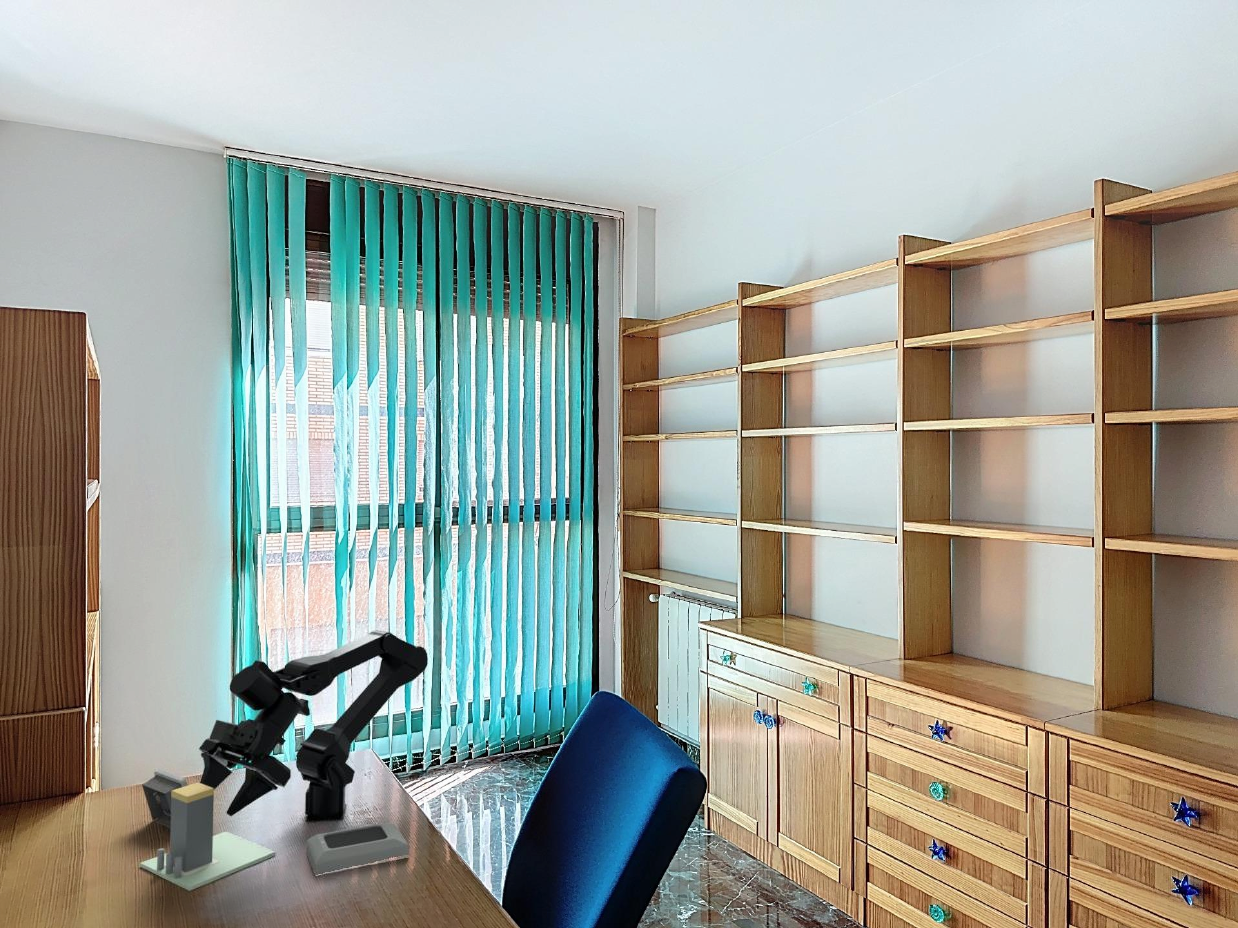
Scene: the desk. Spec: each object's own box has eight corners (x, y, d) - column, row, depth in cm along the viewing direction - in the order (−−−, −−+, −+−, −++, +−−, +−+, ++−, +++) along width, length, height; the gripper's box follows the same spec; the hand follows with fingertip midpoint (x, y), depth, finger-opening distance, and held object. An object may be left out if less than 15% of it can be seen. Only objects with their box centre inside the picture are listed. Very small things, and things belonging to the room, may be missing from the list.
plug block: (196, 854, 144) (197, 782, 144) (212, 861, 142) (213, 788, 142) (169, 864, 140) (171, 790, 140) (185, 872, 138) (187, 796, 138)
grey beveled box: (409, 838, 146) (315, 855, 139) (408, 860, 146) (315, 878, 139) (395, 817, 155) (306, 833, 147) (394, 838, 155) (306, 854, 147)
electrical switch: (199, 825, 158) (195, 775, 157) (171, 837, 153) (167, 786, 153) (170, 813, 163) (166, 765, 162) (142, 825, 158) (138, 775, 158)
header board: (225, 834, 154) (226, 814, 154) (275, 855, 146) (275, 833, 146) (140, 866, 141) (140, 844, 141) (189, 890, 134) (189, 867, 134)
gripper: (209, 691, 153) (146, 772, 144) (275, 709, 143) (212, 798, 134) (249, 724, 160) (192, 804, 151) (315, 743, 150) (258, 830, 141)
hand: (212, 808), depth 144 cm, fingers open, 9 cm apart
